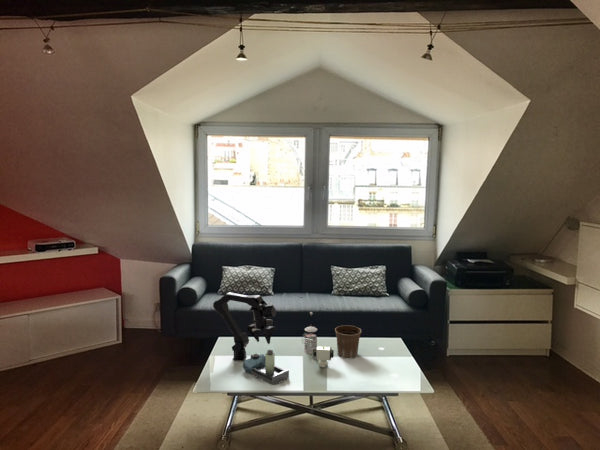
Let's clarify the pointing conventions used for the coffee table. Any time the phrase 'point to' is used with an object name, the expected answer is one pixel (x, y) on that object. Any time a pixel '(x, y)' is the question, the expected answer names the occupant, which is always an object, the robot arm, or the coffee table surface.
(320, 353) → the pneumatic valve
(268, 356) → the pale green bottle
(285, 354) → the coffee table surface
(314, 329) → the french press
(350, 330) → the plant pot
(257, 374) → the grey tray with cylinder
